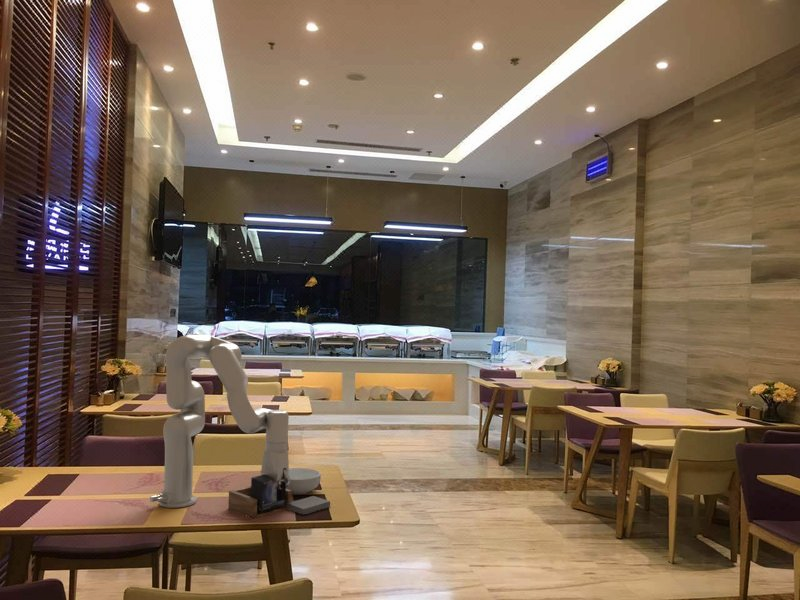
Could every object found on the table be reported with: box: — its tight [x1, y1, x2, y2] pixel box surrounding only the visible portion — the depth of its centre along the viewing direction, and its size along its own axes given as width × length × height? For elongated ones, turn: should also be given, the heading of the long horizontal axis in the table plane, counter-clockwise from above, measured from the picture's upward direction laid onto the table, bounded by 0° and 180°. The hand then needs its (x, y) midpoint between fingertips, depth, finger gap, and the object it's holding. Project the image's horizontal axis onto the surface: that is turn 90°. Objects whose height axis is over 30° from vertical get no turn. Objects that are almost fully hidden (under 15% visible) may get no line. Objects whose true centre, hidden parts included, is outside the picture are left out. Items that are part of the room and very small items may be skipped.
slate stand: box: [286, 495, 331, 516], centre depth 213 cm, size 12×9×2 cm
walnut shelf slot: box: [228, 485, 293, 519], centre depth 211 cm, size 16×14×6 cm
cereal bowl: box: [286, 467, 322, 495], centre depth 232 cm, size 17×17×7 cm
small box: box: [250, 475, 284, 512], centre depth 208 cm, size 11×6×10 cm, turn 142°
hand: (274, 497), depth 211 cm, fingers closed on small box, 6 cm apart
